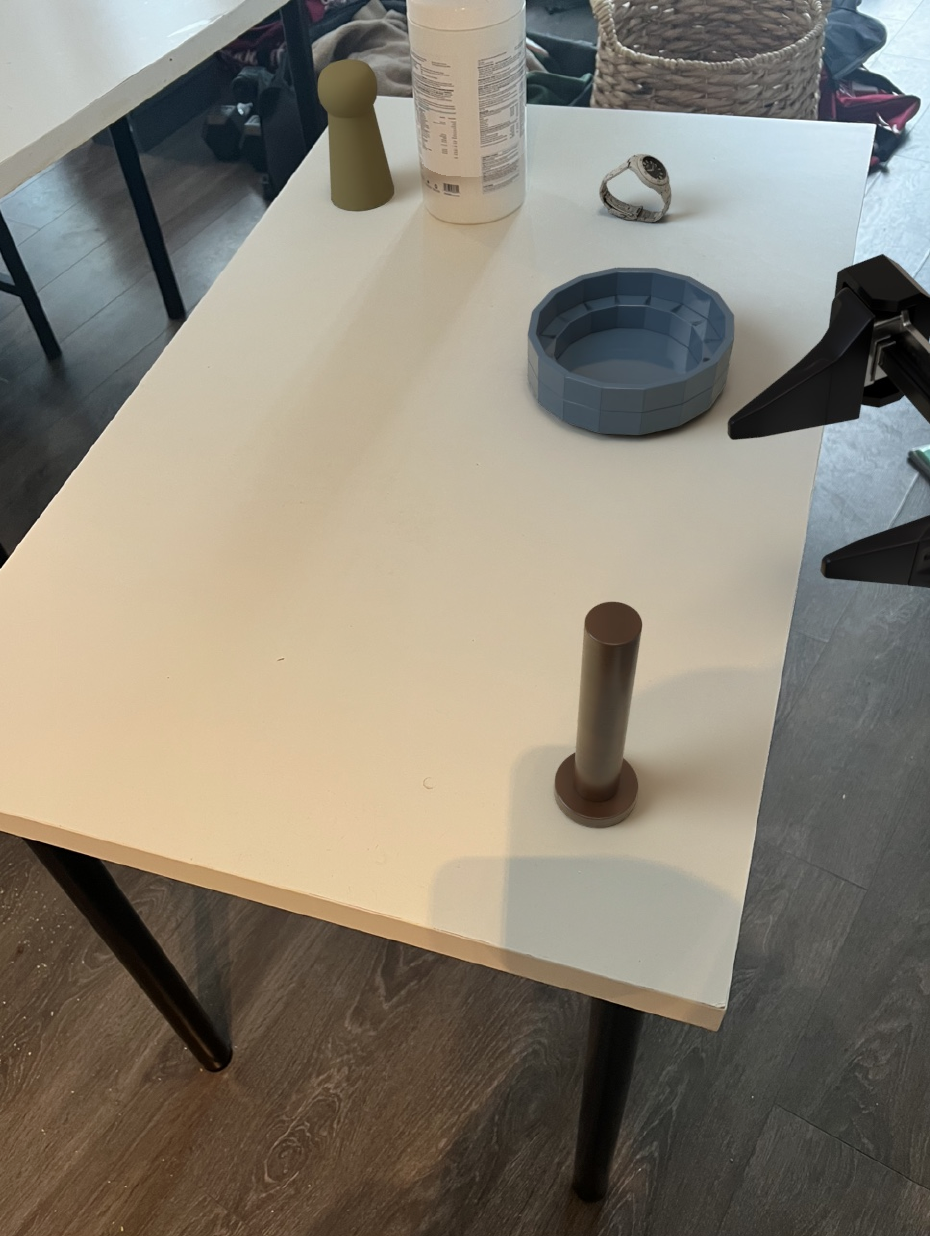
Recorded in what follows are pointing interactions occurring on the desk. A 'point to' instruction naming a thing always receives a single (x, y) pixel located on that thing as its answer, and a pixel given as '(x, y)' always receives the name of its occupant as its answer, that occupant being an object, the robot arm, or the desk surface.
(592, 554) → the desk surface
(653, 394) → the bowl
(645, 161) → the wristwatch
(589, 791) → the brown cylinder with base
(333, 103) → the olive pawn
